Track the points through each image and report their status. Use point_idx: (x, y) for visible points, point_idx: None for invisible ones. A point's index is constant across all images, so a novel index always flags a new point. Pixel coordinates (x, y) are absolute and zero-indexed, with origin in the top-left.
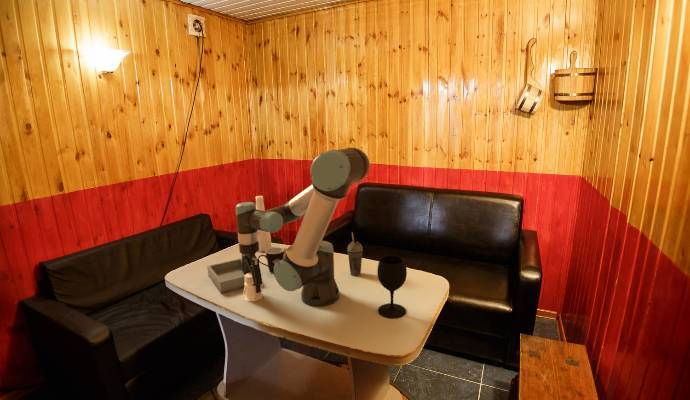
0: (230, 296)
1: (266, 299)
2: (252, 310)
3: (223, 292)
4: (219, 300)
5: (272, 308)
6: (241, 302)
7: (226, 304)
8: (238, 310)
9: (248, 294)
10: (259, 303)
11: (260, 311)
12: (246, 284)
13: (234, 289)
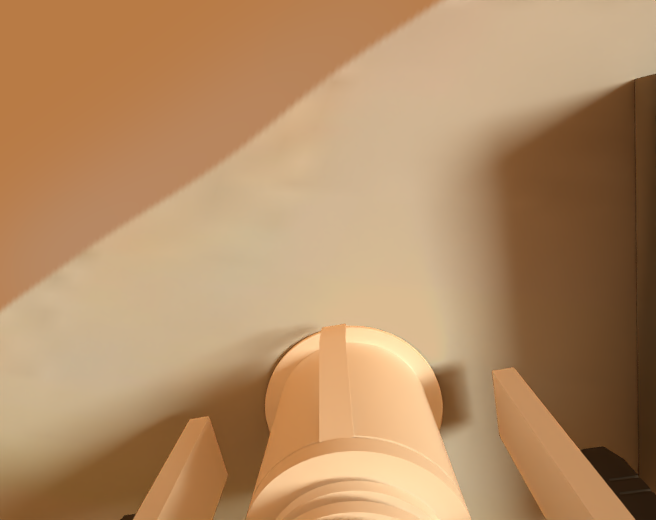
0: (494, 187)
1: None
2: (86, 356)
3: (640, 111)
4: (454, 48)
5: (76, 502)
6: (290, 284)
7: (309, 126)
8: (125, 237)
9: (293, 395)
10: None
11: (49, 413)
12: (335, 477)
13: (643, 249)
